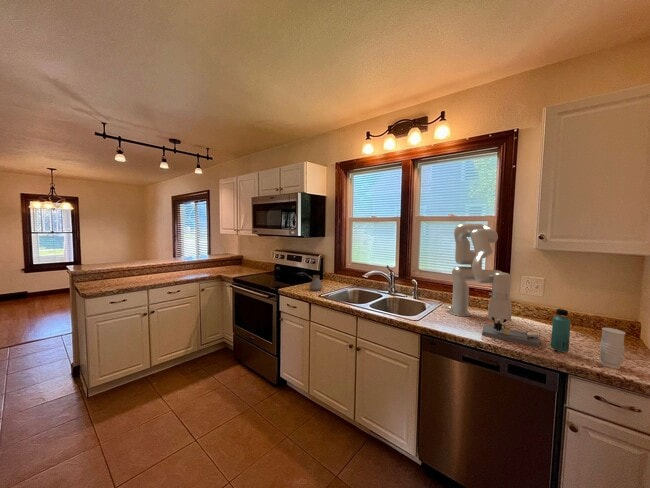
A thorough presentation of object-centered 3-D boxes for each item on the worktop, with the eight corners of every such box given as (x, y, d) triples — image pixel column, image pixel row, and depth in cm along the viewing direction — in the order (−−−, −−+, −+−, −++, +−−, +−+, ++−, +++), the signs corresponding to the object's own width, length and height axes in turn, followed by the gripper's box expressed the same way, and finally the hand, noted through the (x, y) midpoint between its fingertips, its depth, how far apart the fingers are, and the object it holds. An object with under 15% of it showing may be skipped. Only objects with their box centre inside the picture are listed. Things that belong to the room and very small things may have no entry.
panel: (482, 335, 141) (482, 329, 141) (483, 327, 152) (484, 322, 151) (539, 347, 127) (540, 340, 127) (537, 338, 138) (537, 332, 138)
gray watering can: (324, 289, 236) (325, 273, 235) (318, 292, 226) (318, 275, 225) (304, 286, 246) (304, 270, 245) (297, 289, 236) (297, 272, 235)
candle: (623, 371, 107) (626, 335, 106) (598, 364, 112) (601, 330, 111) (622, 365, 112) (625, 331, 111) (598, 359, 117) (601, 326, 116)
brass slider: (503, 334, 137) (503, 326, 137) (503, 332, 139) (503, 325, 139) (509, 335, 136) (509, 327, 135) (509, 333, 138) (509, 326, 137)
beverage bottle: (562, 356, 119) (565, 312, 118) (546, 349, 125) (549, 308, 124) (572, 354, 121) (575, 311, 120) (556, 347, 127) (559, 307, 126)
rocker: (527, 336, 134) (527, 334, 134) (527, 334, 137) (526, 332, 137) (538, 336, 131) (538, 334, 131) (537, 334, 134) (537, 332, 134)
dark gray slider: (493, 328, 145) (493, 321, 145) (493, 326, 147) (493, 319, 147) (499, 329, 144) (499, 322, 144) (499, 327, 146) (499, 320, 146)
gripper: (483, 295, 139) (481, 329, 140) (518, 300, 131) (516, 336, 132) (484, 292, 145) (482, 325, 147) (518, 297, 137) (515, 331, 138)
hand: (498, 330), depth 139 cm, fingers closed
